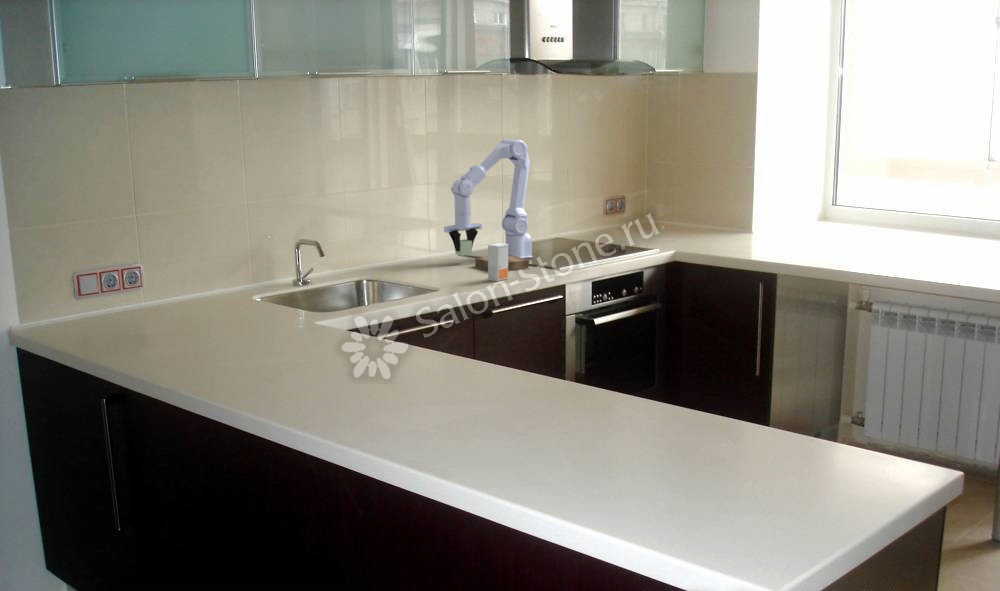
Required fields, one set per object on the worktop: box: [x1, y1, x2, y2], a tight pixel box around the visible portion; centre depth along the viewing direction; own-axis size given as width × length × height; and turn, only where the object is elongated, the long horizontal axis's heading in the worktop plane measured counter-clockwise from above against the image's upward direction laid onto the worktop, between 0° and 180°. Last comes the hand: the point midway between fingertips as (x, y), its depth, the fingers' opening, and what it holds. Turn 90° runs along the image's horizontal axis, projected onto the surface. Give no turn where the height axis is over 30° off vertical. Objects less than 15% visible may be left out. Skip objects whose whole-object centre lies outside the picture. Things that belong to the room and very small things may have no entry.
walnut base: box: [474, 254, 530, 272], centre depth 356 cm, size 14×14×3 cm
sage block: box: [454, 238, 473, 257], centre depth 363 cm, size 4×4×5 cm
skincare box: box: [487, 242, 509, 282], centre depth 334 cm, size 6×4×12 cm
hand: (463, 250), depth 363 cm, fingers closed on sage block, 4 cm apart
